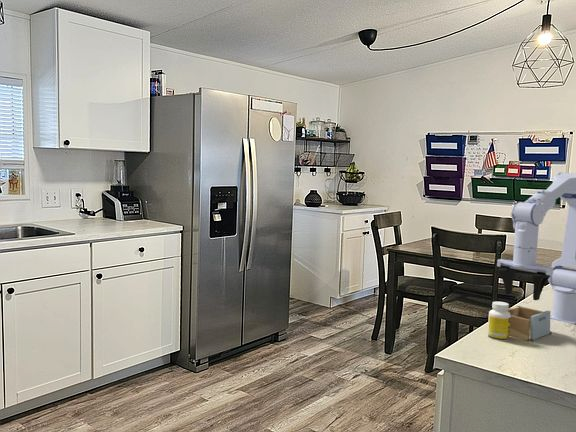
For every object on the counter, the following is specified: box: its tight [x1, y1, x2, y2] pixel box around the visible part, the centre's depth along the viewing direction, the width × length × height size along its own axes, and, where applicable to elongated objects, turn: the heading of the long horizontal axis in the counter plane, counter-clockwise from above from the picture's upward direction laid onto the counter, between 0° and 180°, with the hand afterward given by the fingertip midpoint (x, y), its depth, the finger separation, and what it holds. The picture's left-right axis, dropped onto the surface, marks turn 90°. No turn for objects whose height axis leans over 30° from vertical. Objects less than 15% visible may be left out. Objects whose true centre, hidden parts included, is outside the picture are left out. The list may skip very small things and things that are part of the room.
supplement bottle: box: [486, 301, 511, 342], centre depth 138 cm, size 5×5×10 cm
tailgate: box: [530, 310, 551, 341], centre depth 139 cm, size 9×1×6 cm, turn 129°
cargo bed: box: [507, 305, 553, 343], centre depth 143 cm, size 12×10×6 cm
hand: (522, 296), depth 143 cm, fingers open, 7 cm apart
